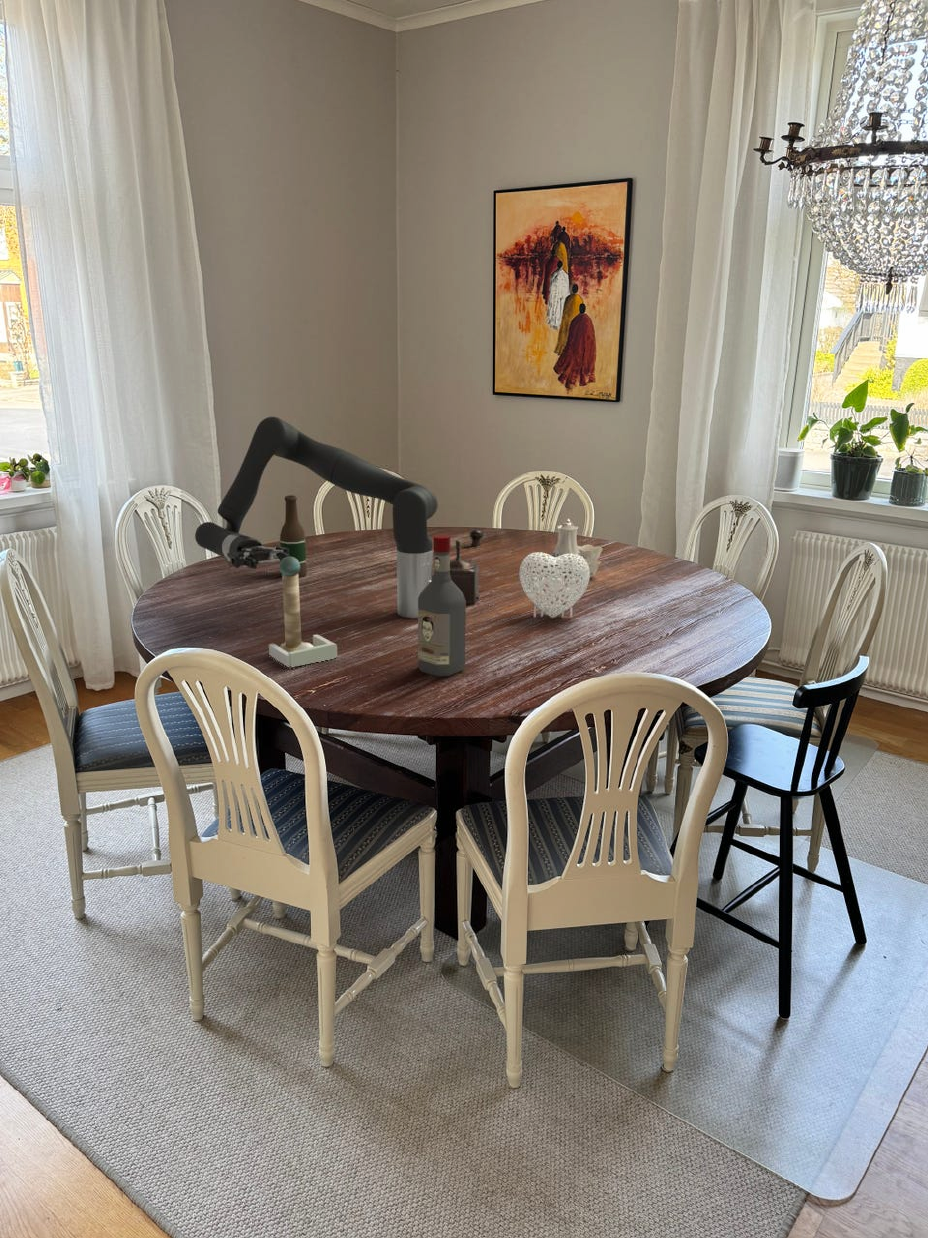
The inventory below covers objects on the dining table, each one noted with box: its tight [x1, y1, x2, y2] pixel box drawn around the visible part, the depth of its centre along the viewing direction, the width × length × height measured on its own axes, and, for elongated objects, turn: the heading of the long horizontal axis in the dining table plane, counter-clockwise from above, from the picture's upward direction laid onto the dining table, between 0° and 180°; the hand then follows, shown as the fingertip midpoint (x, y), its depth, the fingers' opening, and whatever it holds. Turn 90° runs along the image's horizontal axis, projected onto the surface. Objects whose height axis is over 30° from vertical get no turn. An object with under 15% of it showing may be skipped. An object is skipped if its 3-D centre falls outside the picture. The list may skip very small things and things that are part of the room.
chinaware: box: [550, 518, 603, 580], centre depth 288 cm, size 28×17×17 cm, turn 175°
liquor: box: [417, 534, 467, 678], centre depth 203 cm, size 9×9×30 cm
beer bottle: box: [279, 494, 307, 579], centre depth 278 cm, size 8×8×24 cm
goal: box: [268, 634, 338, 667], centre depth 213 cm, size 10×12×4 cm
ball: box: [298, 642, 314, 650], centre depth 212 cm, size 4×4×4 cm
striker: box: [279, 557, 305, 652], centre depth 214 cm, size 6×6×23 cm
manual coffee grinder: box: [450, 529, 484, 606], centre depth 259 cm, size 16×11×18 cm
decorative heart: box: [518, 551, 591, 619], centre depth 242 cm, size 18×11×17 cm, turn 83°
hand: (271, 561), depth 223 cm, fingers open, 8 cm apart
